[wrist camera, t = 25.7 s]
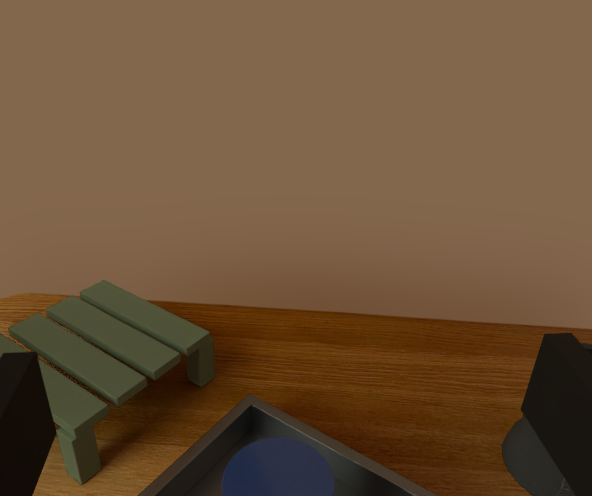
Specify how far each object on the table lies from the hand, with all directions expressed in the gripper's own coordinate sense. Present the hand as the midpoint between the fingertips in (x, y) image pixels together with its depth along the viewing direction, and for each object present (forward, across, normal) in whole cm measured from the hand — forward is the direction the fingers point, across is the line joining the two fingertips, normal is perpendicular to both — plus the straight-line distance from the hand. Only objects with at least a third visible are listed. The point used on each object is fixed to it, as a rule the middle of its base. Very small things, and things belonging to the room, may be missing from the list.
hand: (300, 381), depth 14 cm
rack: (+31, -16, -28) cm, 45 cm away
